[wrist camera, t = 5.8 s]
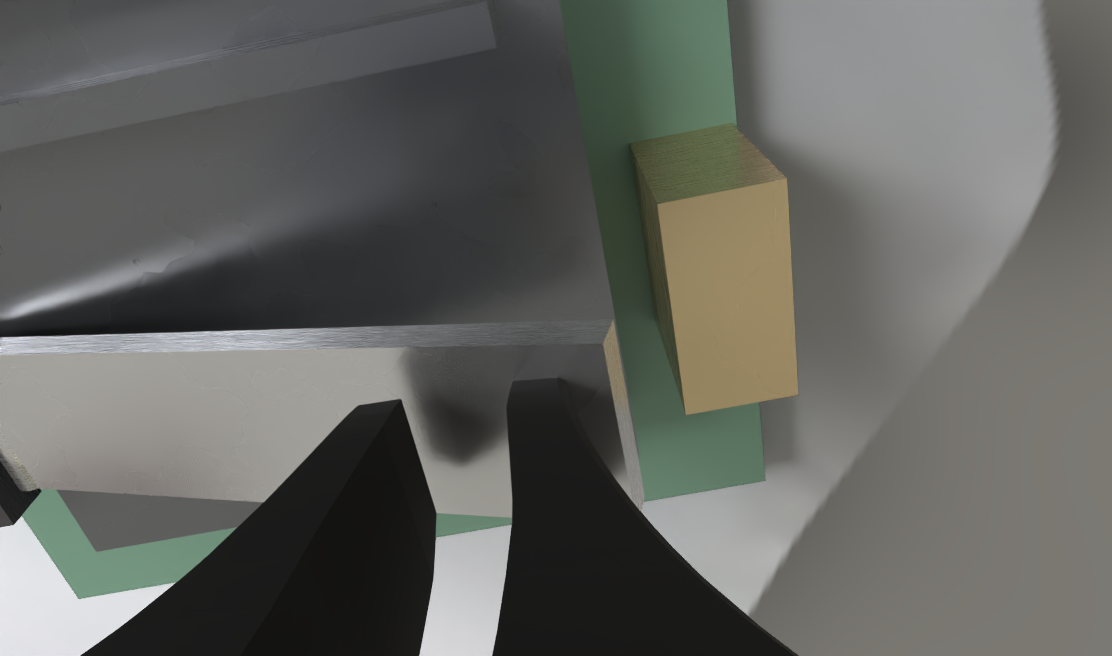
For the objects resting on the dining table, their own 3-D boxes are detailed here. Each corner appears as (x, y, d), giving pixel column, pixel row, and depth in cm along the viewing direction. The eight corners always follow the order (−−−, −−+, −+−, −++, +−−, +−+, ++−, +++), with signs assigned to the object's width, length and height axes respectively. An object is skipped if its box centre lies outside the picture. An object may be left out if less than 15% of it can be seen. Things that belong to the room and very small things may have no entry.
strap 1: (43, 463, 16) (9, 490, 15) (-38, 336, 14) (-80, 359, 14) (646, 491, 11) (635, 531, 11) (615, 314, 10) (600, 347, 9)
